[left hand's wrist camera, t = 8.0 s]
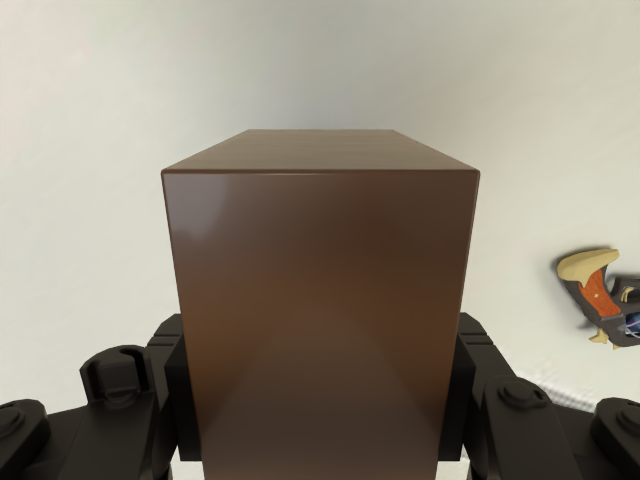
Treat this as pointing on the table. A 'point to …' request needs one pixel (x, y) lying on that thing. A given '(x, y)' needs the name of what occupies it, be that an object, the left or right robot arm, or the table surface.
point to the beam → (320, 300)
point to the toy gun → (603, 296)
